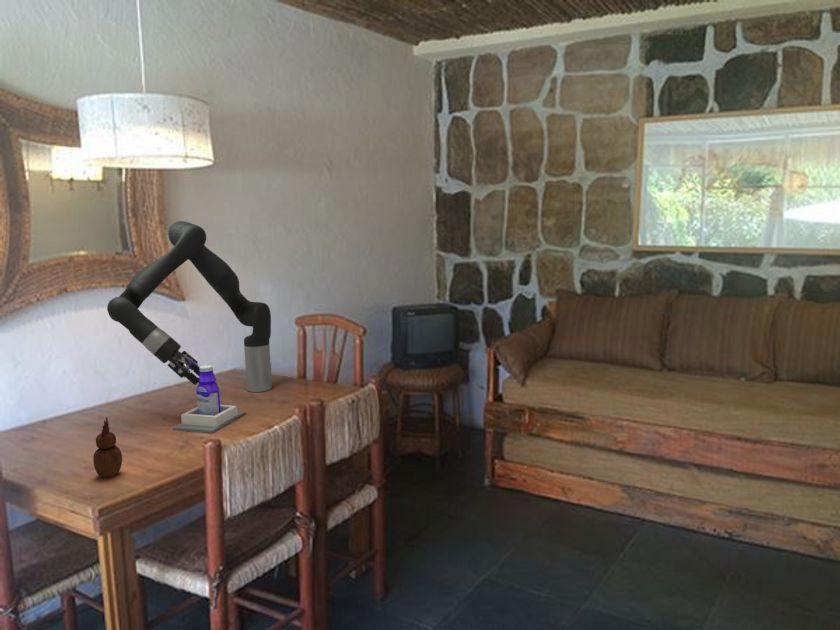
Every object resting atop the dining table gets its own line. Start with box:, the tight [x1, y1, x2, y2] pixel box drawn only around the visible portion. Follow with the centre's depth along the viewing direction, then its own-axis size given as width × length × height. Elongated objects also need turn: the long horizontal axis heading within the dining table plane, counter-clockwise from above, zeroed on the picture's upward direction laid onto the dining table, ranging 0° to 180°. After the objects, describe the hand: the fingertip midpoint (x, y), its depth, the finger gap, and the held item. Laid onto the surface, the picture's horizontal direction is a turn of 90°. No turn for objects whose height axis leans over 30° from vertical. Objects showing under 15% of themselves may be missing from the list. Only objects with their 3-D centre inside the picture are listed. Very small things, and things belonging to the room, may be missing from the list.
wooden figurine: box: [92, 416, 123, 478], centre depth 173 cm, size 7×6×15 cm
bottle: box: [196, 364, 221, 416], centre depth 216 cm, size 7×6×17 cm
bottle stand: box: [171, 404, 247, 434], centre depth 217 cm, size 20×14×4 cm
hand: (201, 379), depth 215 cm, fingers open, 8 cm apart
